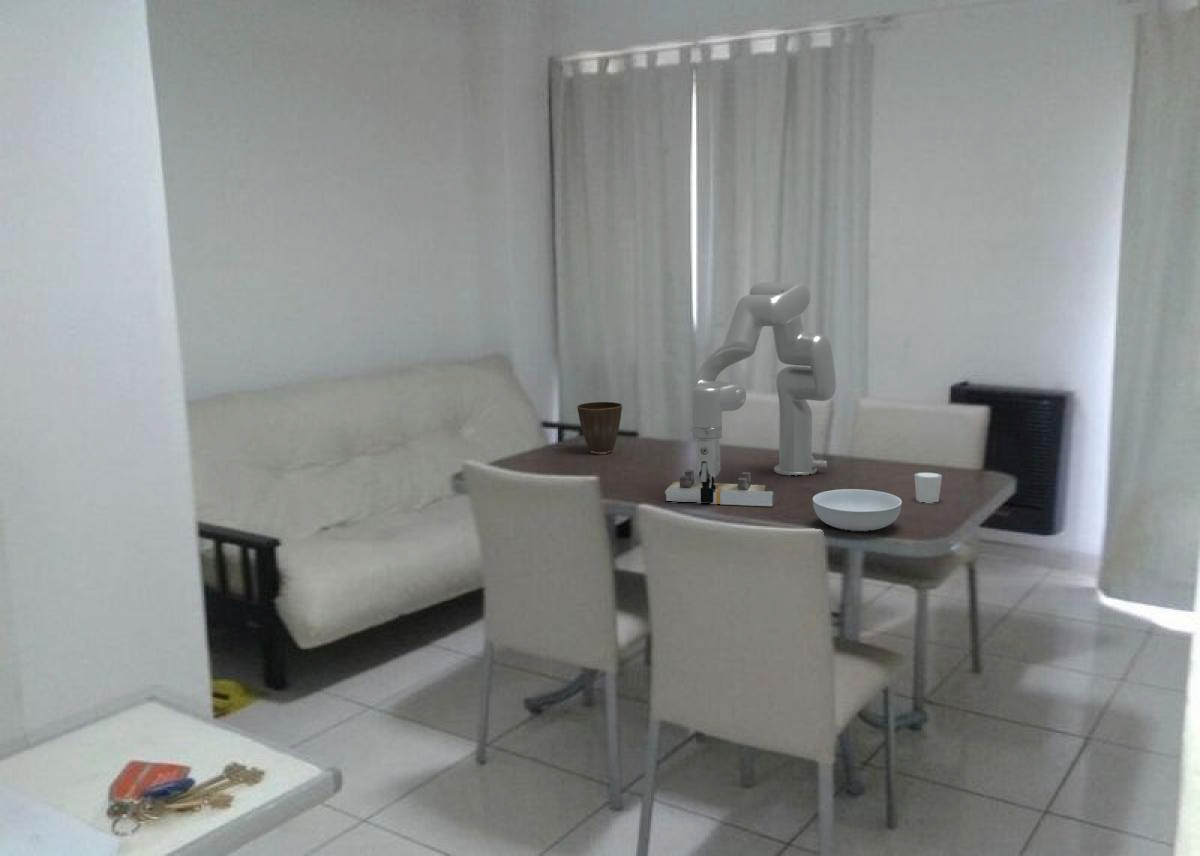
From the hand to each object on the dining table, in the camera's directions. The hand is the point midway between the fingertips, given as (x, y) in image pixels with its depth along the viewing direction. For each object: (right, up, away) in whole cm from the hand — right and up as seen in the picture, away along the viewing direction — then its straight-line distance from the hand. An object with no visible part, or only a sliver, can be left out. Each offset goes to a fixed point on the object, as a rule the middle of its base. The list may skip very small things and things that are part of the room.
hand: (708, 500), depth 273 cm
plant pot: (-28, +11, +71) cm, 77 cm away
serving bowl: (+33, -5, -26) cm, 42 cm away
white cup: (+57, 0, -3) cm, 57 cm away
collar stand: (+3, +1, +11) cm, 12 cm away
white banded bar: (+3, -1, -1) cm, 3 cm away
